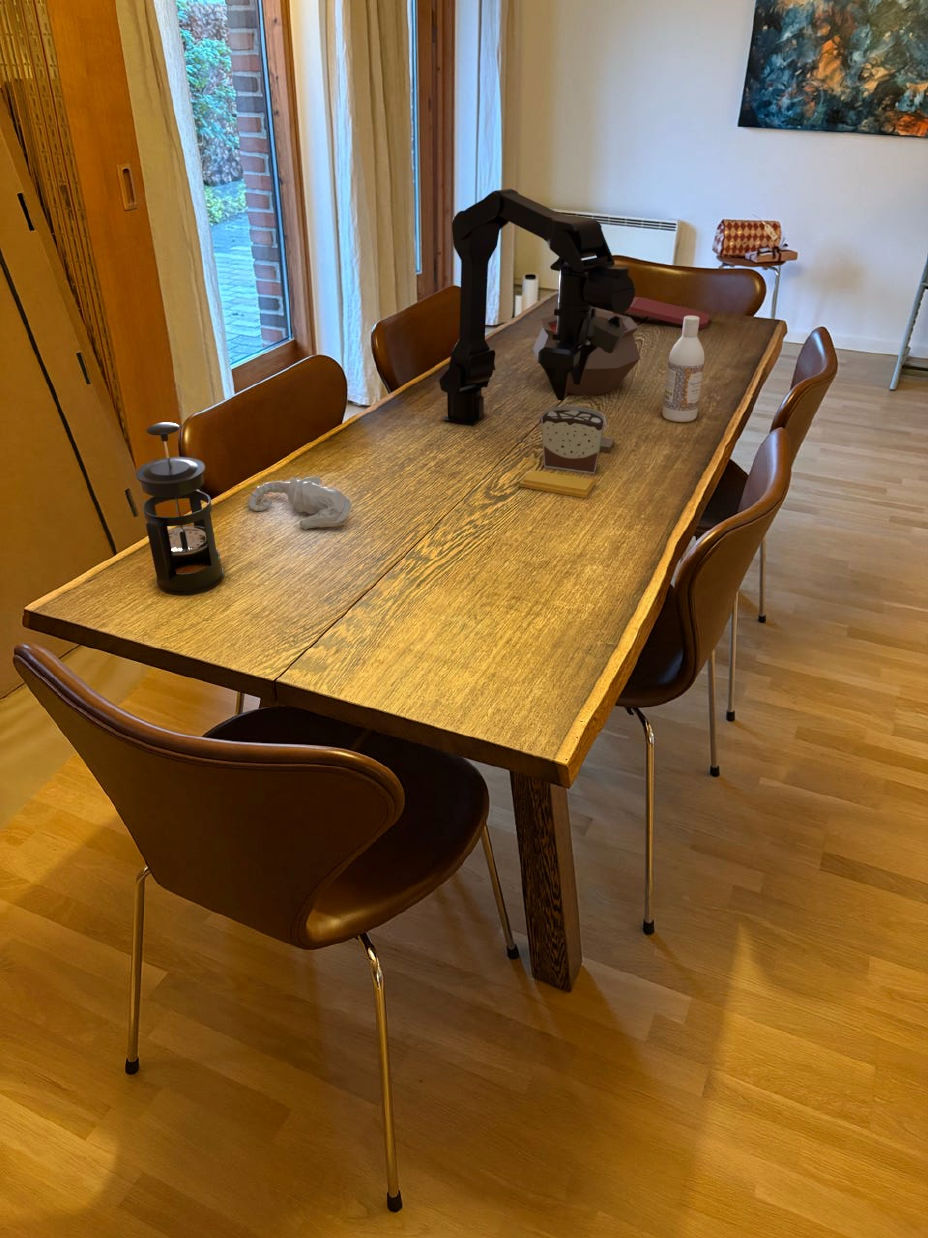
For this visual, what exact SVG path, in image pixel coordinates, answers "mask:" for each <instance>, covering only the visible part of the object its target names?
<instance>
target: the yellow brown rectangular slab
mask: <svg viewBox="0 0 928 1238" xmlns="http://www.w3.org/2000/svg"><path fill="white" fill-rule="evenodd" d="M518 487H519V488H525V489H530V490H537V491H541V492H547V493H554V494H559V495H565V496H570V497H576V498H582V499H586V498H587V497H588V496H589V495H590V494H591V492H592V490H593V489H594V488H595V482H594V479H589V478H584V477H577V476H573V475H571V476H570V475H566V474H559V473H553V472H547V471H541V470H535V469H531V470H530V471H529V472H528V473H527V474H526V475H525V476H524V477H523V478H522V479H521V480H520V481H519V483H518Z"/></svg>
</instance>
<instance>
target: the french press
mask: <svg viewBox="0 0 928 1238" xmlns="http://www.w3.org/2000/svg"><path fill="white" fill-rule="evenodd" d="M179 430H180V425H179V424H177V423H173V422H158V423H154V424H151V425H150V426H148V427H146V429H145V432H146V433H147V434H148V435H151V436H159V437H160V440H161V442H163V443H164V444H163V445H164V450H165V456H166V457H163V458H159V459H155V460H151V461H149V462H147V463H145V464H143V465H140V467H138V468H137V470H136V471H135V477H136V479H137V480H138V481H139V482H140V485H141V489H142V491H143V492H144V494H147V495H149V496H151V497H149V498H148V499H147V500H145V501H144V503H143V504H142V510H143V515H144V519H145V520H146V521H147V522H146V524H145V528H146V533H147V537H148V543H149V548H150V552H151V557H152V561H153V562H152V563H153V566H154V571H155V575H156V585H157V587H158V589H159V590H160V591H162V592H163V593H165V594H168V595H173V596H193V595H198V594H202V593H206V592H208V591H210V590H211V591H212V590H213V589H215V588H216V587H218V586H219V585H220V584H221V583H222V582H223V580H224V578H225V571H224V568H223V566H222V561H221V555H220V552H219V550H218V549H217V546H216V545H217V544H216V539H215V533H214V528H213V521H212V516H211V515H212V514H211V512H212V510H213V507H212V500H211V497H210V495H208V494H207V493H205V492H204V491H201V490H199V489H201V487H202V486H203V485H204V484H205V479H204V473H205V472H206V465H205V463H204V462H203V461H201V460H200V459H197V458H193V457H187V456H186V457H185V456H172V457H171V456H170V451H169V447H168V441H169V435H171V434H174V433H176V432H179ZM178 499H179V500H182V499H188V501H189V505H190V511H191V513H187V514H183V515H181V510H180V505H179V501H178ZM172 500H174V504H175V508H176V514H177V515H176V516H159V515H158V514H157V509H156V506H157V505H159V504H162V503H165V502H168V501H172ZM202 502H204V503H207V504H206V505H205V506H204V507H203V505H202ZM191 524H193V525H191ZM169 527H173V528H169ZM192 566H193V567H194V566H198V567H199V566H201V567H205V568H202V569H199V570H197V571H192V572H185V573H177V570H179V569H183V568H187V567H192Z"/></svg>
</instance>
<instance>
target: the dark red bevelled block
mask: <svg viewBox="0 0 928 1238" xmlns="http://www.w3.org/2000/svg"><path fill="white" fill-rule="evenodd" d="M626 312H627V313H631V314H636V315H640V316H645V317H649V318H652V319H656V320H661V321H665V322H668V323H673V324H677V325H681V326H683V322H684V317H685V316H697V317H699V327H698V330H702V329H703V330H704V329H706V328H707V325H708V324H709V321H710V318H711V315H710V314H708V313H707V312H704V311H700V310H695V309H692V308H687V307H683V306H679V305H675V304H670V303H666V302H662V301H658V300H655V299H650V298H646V297H643V296H634V299H633V302H632V304H631V306H630V307H629V309H628V310H627V311H625V312H624V313H621V314H619V313H615V312H612V314H617V315H622V316H625V313H626Z"/></svg>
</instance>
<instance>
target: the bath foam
mask: <svg viewBox="0 0 928 1238" xmlns="http://www.w3.org/2000/svg"><path fill="white" fill-rule="evenodd" d="M698 327H699V317H697V316H685V317H684V322H683V325H682V331H681V332H682V333H681V336H680V337H679V338H678V339H677V341H676V342H675V343H674V345H673V347H672V348H671V350H670V352H669V356H668V360H667V369H666V377H665V387H664V392H663V393H664V395H663V404H662V410H661V411H662V417H663V418H664V419H666V420H667V421H671V422H675V423H690V422H693V421H695V420H696V419H697V417H698V411H699V404H700V397H701V389H702V383H703V382H702V381H703V375H704V368H705V351H704V348H703V345H702V343H701V341H700V339H699V337H698V333H699V329H698Z"/></svg>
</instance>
